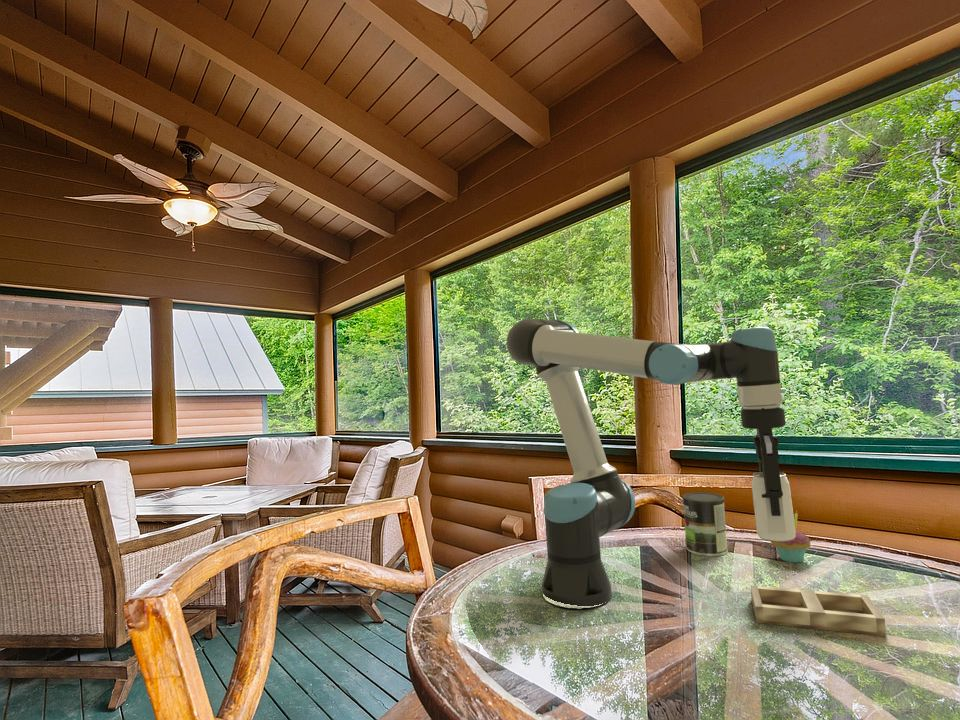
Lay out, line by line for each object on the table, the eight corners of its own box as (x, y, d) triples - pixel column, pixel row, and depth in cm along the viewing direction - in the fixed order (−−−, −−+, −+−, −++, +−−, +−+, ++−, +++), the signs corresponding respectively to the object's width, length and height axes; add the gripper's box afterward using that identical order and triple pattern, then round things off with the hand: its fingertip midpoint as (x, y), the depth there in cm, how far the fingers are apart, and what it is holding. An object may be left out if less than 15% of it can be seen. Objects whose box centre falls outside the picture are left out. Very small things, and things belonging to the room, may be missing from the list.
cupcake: (812, 555, 130) (807, 507, 130) (812, 567, 122) (807, 515, 123) (772, 551, 134) (768, 504, 135) (770, 562, 127) (766, 512, 127)
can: (801, 542, 96) (793, 476, 97) (763, 542, 98) (755, 478, 98) (789, 532, 103) (781, 470, 103) (753, 532, 104) (746, 472, 105)
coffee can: (698, 558, 133) (694, 502, 133) (679, 545, 143) (675, 494, 143) (736, 554, 134) (732, 499, 134) (714, 542, 144) (710, 490, 144)
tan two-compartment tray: (756, 622, 98) (755, 606, 98) (751, 600, 108) (750, 585, 108) (886, 636, 91) (884, 618, 91) (868, 611, 100) (867, 595, 100)
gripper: (790, 409, 91) (806, 543, 90) (777, 402, 109) (791, 514, 108) (742, 411, 94) (757, 541, 93) (737, 405, 112) (750, 514, 111)
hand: (775, 527), depth 100 cm, fingers closed on can, 6 cm apart
